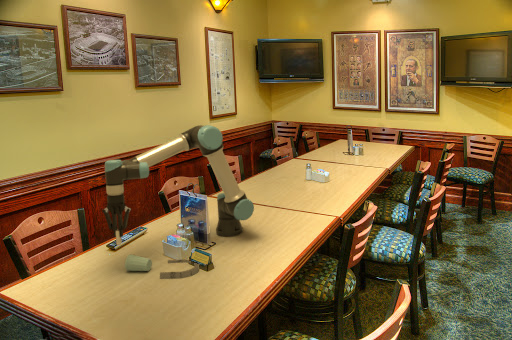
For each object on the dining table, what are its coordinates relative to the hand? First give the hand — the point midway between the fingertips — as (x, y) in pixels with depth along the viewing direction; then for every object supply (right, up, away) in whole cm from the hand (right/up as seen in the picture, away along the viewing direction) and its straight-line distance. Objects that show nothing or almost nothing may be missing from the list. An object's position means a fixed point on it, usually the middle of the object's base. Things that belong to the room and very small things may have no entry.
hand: (119, 243), depth 205 cm
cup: (+12, -14, +2) cm, 19 cm away
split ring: (+29, -13, +1) cm, 32 cm away
